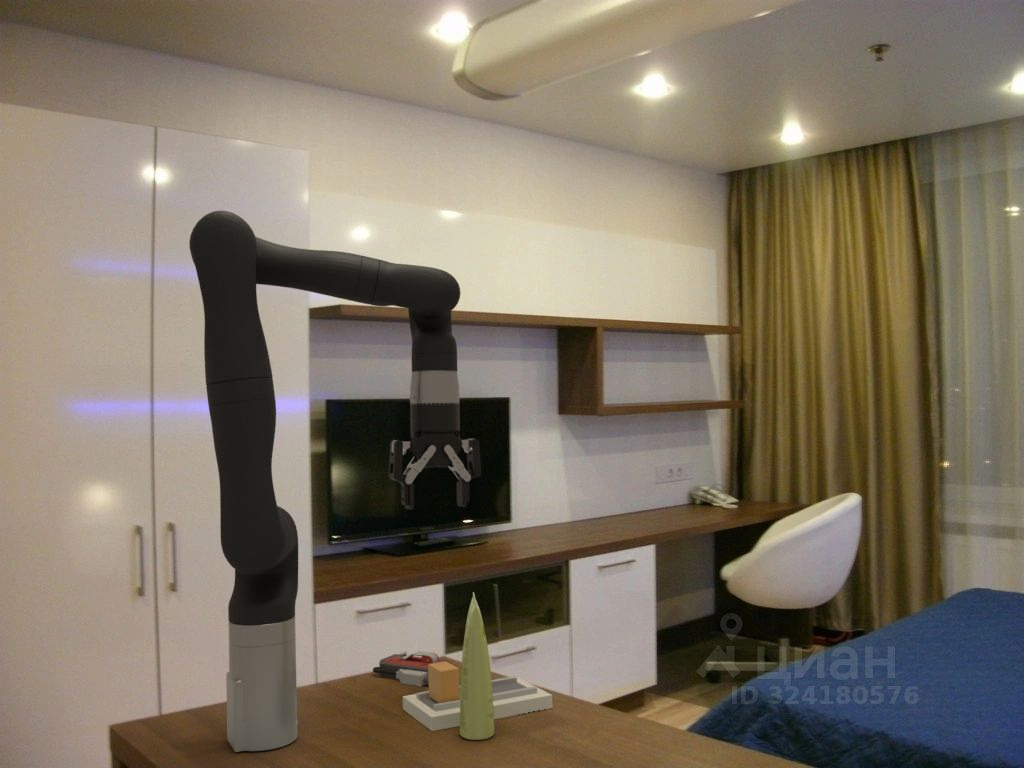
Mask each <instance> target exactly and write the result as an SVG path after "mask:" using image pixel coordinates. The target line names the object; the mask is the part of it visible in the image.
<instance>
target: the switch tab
mask: <svg viewBox="0 0 1024 768" xmlns="http://www.w3.org/2000/svg"><path fill="white" fill-rule="evenodd" d="M446 661H447V660H446ZM446 661H445V662H439V663H432V664H428V680H429V684H428V691H429V697H431V698H432V699H434V700H435V701H437V702H438V703H444V702H449V701H455V700H460V689H459V681H460V669H459V667H457V666H455V665H454V664H451V662H449V663H448V662H446Z"/></svg>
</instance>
